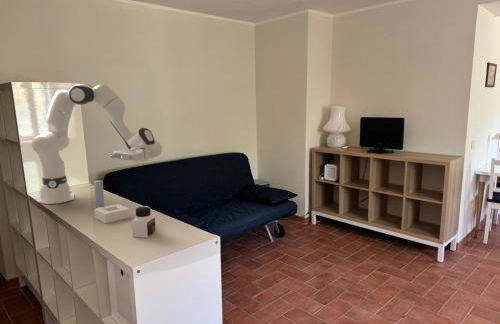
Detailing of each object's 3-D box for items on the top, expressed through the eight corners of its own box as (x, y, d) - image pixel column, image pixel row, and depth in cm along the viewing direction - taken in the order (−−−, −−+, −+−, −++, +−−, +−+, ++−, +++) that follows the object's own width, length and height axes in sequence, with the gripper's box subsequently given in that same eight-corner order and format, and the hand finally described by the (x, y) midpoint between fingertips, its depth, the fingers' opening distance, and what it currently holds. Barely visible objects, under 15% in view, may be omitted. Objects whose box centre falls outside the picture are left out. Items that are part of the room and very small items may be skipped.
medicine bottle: (148, 238, 142) (146, 210, 140) (132, 237, 143) (130, 209, 142) (155, 232, 149) (154, 205, 147) (140, 231, 150) (139, 204, 148)
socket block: (94, 217, 168) (94, 208, 168) (118, 212, 177) (118, 203, 176) (105, 223, 160) (104, 214, 159) (129, 217, 169) (129, 208, 168)
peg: (96, 210, 179) (94, 180, 177) (104, 210, 181) (103, 180, 178) (95, 213, 176) (93, 182, 173) (104, 212, 177) (102, 181, 174)
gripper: (125, 146, 200) (103, 150, 188) (148, 149, 188) (127, 153, 177) (126, 157, 201) (105, 161, 190) (149, 160, 190) (128, 165, 179)
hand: (116, 157), depth 183 cm, fingers open, 8 cm apart
